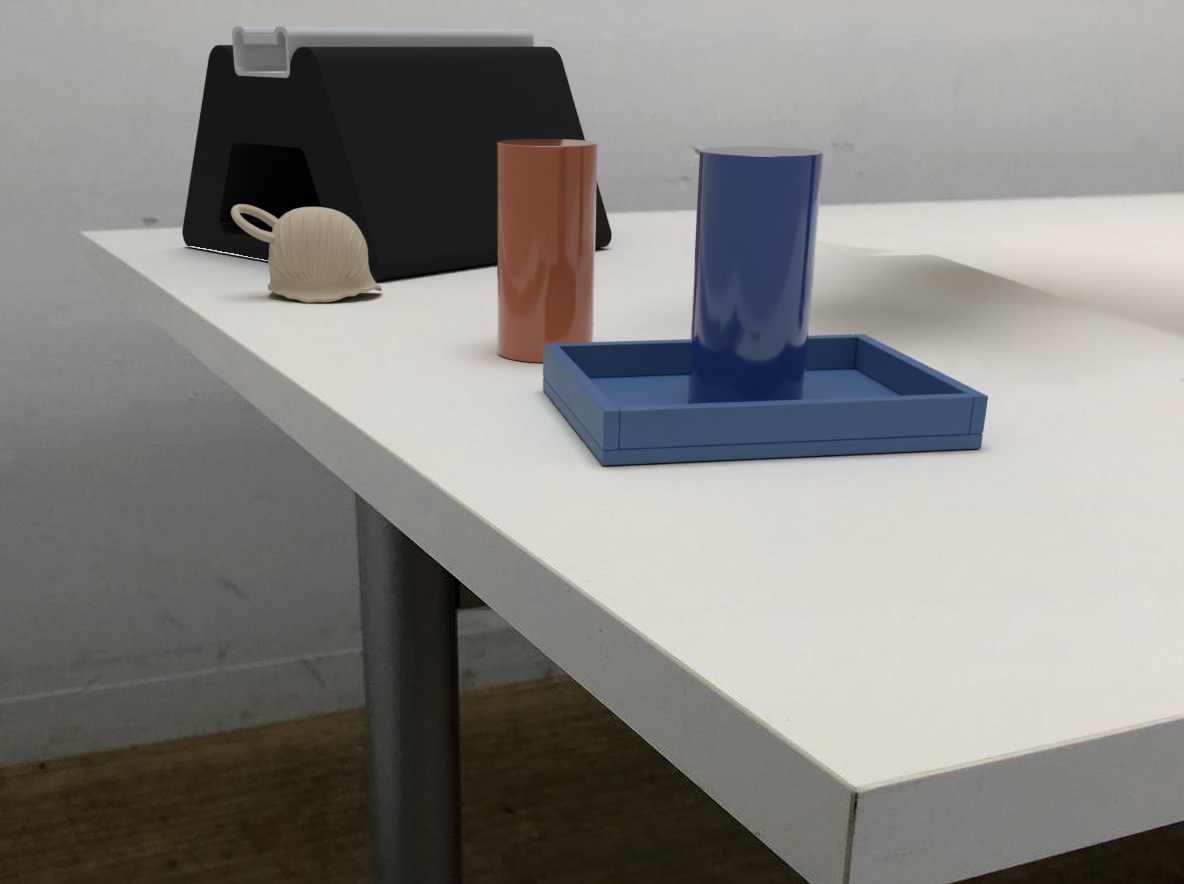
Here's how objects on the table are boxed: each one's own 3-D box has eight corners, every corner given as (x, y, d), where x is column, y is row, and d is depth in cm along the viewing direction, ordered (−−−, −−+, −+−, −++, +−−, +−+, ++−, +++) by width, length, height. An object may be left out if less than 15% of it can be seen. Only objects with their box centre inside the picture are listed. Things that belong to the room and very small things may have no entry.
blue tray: (860, 378, 65) (865, 333, 65) (981, 448, 54) (989, 395, 54) (542, 389, 63) (543, 343, 62) (602, 466, 52) (604, 410, 51)
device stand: (611, 248, 104) (617, 29, 98) (380, 282, 89) (370, 27, 83) (411, 221, 118) (406, 28, 112) (183, 246, 103) (163, 26, 97)
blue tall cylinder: (780, 387, 61) (798, 146, 57) (819, 414, 57) (842, 155, 53) (674, 391, 60) (685, 146, 56) (705, 419, 56) (720, 156, 52)
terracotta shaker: (581, 341, 73) (585, 138, 69) (602, 361, 68) (607, 146, 64) (491, 344, 72) (489, 139, 68) (505, 364, 68) (505, 146, 64)
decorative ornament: (370, 304, 82) (367, 210, 80) (232, 300, 83) (225, 207, 81) (384, 292, 86) (381, 202, 84) (252, 289, 87) (245, 199, 84)
